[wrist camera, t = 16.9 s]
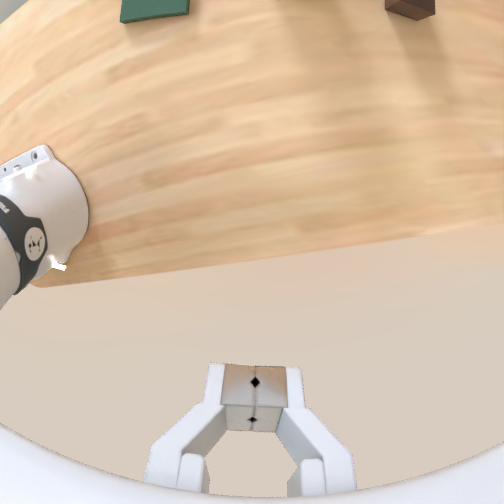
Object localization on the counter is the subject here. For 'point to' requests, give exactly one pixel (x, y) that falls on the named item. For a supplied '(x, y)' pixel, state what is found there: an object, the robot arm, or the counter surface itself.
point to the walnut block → (411, 8)
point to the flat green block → (152, 9)
